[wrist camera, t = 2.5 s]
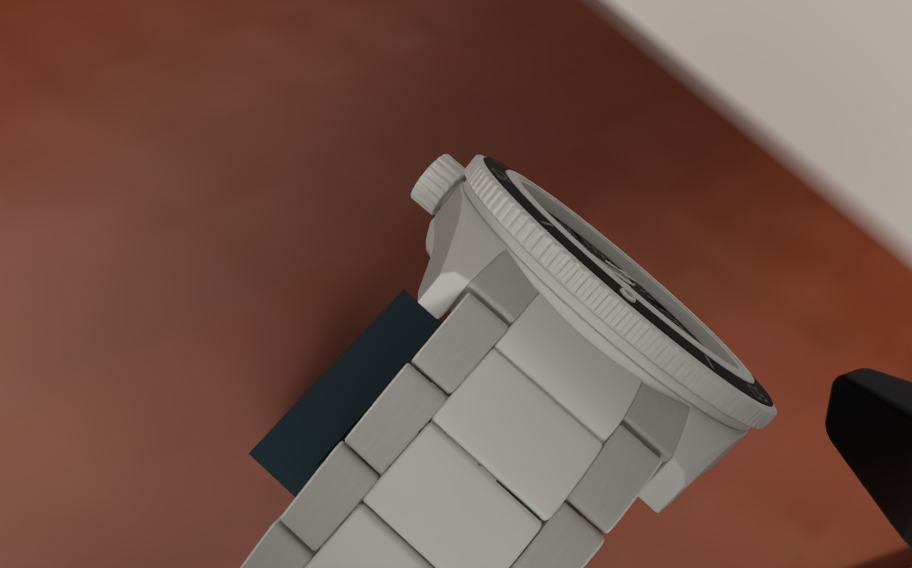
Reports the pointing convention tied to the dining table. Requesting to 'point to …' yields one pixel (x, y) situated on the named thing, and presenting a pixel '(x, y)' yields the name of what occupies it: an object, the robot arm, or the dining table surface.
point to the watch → (504, 398)
